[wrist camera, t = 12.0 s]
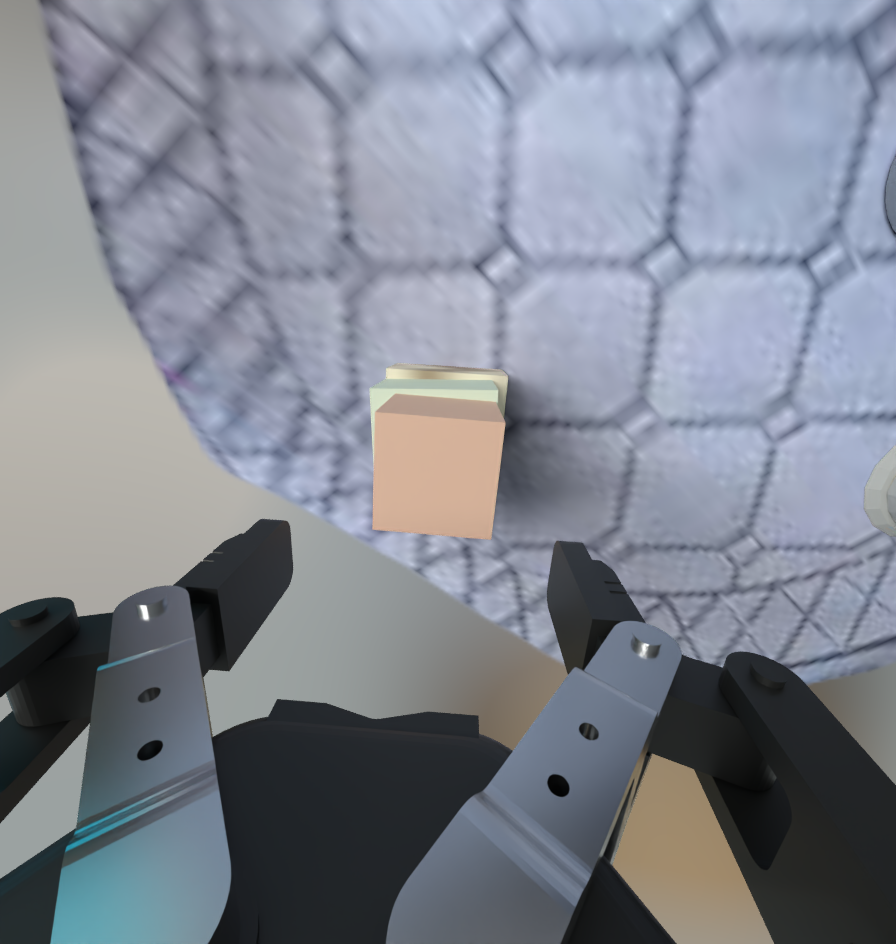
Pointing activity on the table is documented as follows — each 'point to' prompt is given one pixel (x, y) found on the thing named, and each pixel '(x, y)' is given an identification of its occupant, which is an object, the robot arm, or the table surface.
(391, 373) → the birch base block
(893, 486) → the french press
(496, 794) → the robot arm
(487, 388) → the sage top block
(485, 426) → the terracotta block
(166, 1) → the table surface
